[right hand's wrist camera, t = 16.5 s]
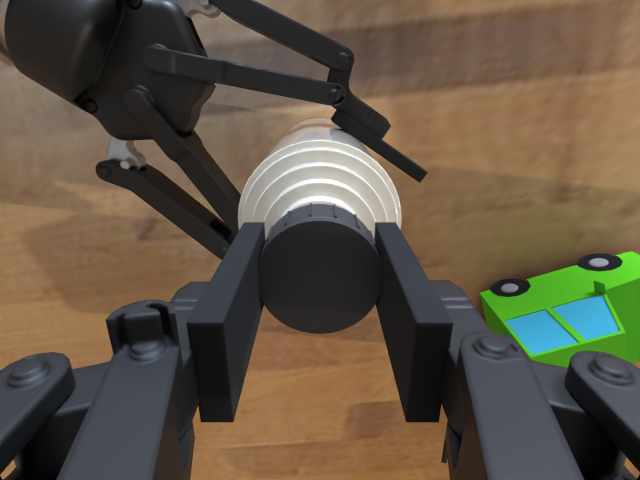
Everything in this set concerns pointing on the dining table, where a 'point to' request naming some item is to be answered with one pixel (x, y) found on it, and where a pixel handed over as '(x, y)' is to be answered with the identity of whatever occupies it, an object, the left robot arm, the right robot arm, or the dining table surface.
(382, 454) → the dining table surface
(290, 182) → the bottle
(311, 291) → the cap
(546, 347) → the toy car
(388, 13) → the dining table surface
